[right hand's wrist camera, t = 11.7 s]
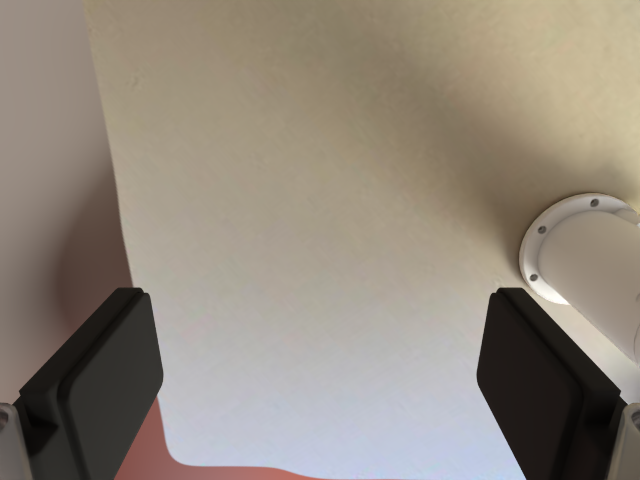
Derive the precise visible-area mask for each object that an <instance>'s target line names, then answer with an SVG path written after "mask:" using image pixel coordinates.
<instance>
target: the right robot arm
mask: <svg viewBox="0 0 640 480" xmlns="http://www.w3.org/2000/svg"><path fill="white" fill-rule="evenodd" d="M519 265H520V271H521V273H522V276H523V278H524V280H525V281H526V283H527V284H528V286H529V287H530V288H531V289H532V290H533V291H534V292H535V293H536V294H538V295H539V296H541V297H542V298H544V299H546V300H549V301H551V302H554V303H559V304H570V305H571V306H572V307H574V308H575V309H576V310H577V311H578V312H579V313H580V314H581V315H582V316H583V317H585V318H586V319H587V320H588V321H589V322H590V323H591V324H592V325H593V326H594V327H595V328H597V329H598V330H599V331H600V332H601V333H602V334H603V335H604V336H605V337H606V338H608V339H609V340H610V341H611V342H612V343H613V344H614V345H615V346H616V347H617V348H618V349H620V350H621V351H622V352H623V353H624V354H625V355H626V356H627V357H628V358H629V359H631V360H632V361H633V362H634V363H635V364H636V365H637V366H638V367H639V368H640V215H638V214H637V212H636V211H635V210H634V209H633V208H632V207H631V206H630V205H628V204H627V203H625V202H623V201H622V200H620V199H617V198H615V197H612V196H609V195H605V194H600V193H586V194H580V195H575V196H572V197H569V198H566V199H563V200H561V201H559V202H558V203H556V204H554V205H552V206H551V207H549V208H548V209H547V210H545V211H544V212H543V213H542V214H541V215H540V216H539V217H538V218H537V219H536V220H535V221H534V222H533V223H532V225H531V226H530V228H529V229H528V230H527V232H526V234H525V236H524V238H523V241H522V244H521V248H520V251H519ZM162 382H163V368H162V362H161V356H160V350H159V345H158V339H157V333H156V328H155V322H154V316H153V310H152V305H151V299H150V295H149V294H148V293H144V292H143V290H142V289H141V288H117V289H116V290H115V291H114V292H113V293H112V294H111V295H110V296H109V297H108V298H107V299H106V300H105V301H104V302H103V303H102V305H101V306H100V307H99V308H98V309H97V310H96V311H95V312H94V313H93V314H92V315H91V316H90V317H89V318H88V319H87V320H86V321H85V322H84V323H83V324H82V325H81V327H80V328H79V329H78V330H77V331H76V332H75V333H74V334H73V335H72V336H71V337H70V338H69V339H68V340H67V341H66V342H65V343H64V344H63V345H62V346H61V347H60V348H59V350H58V351H57V352H56V353H55V354H54V355H53V356H52V357H51V358H50V359H49V360H48V361H47V362H46V363H45V364H44V365H43V366H42V367H41V368H40V369H39V370H38V371H37V373H36V374H35V375H34V376H33V377H32V378H31V379H30V380H29V381H28V382H27V383H26V384H25V385H24V386H23V387H22V388H21V389H20V390H19V393H20V395H21V396H20V397H19V398H18V399H17V400H16V401H15V402H14V403H13V404H12V405H10V404H8V403H0V480H114V478H115V476H116V474H117V472H118V470H119V468H120V466H121V464H122V462H123V460H124V458H125V456H126V454H127V452H128V450H129V448H130V447H131V445H132V443H133V441H134V439H135V437H136V435H137V433H138V431H139V429H140V427H141V425H142V423H143V421H144V419H145V417H146V415H147V413H148V411H149V409H150V407H151V405H152V403H153V402H154V399H155V398H156V396H157V394H158V392H159V390H160V388H161V386H162ZM477 382H478V386H479V388H480V390H481V392H482V394H483V396H484V398H485V400H486V402H487V403H488V405H489V407H490V409H491V411H492V413H493V415H494V417H495V419H496V421H497V423H498V425H499V427H500V429H501V431H502V433H503V435H504V437H505V439H506V441H507V443H508V445H509V447H510V448H511V450H512V452H513V454H514V456H515V458H516V460H517V462H518V464H519V466H520V468H521V470H522V472H523V474H524V476H525V478H526V480H640V403H632V404H630V405H628V404H627V403H626V402H625V401H624V400H623V399H622V398H621V397H620V393H621V390H620V389H619V388H618V387H617V386H616V385H615V384H614V383H613V382H612V381H611V380H610V379H609V378H608V377H607V376H606V375H605V374H604V373H603V371H602V370H601V369H600V368H599V367H598V366H597V365H596V364H595V363H594V362H593V361H592V360H591V359H590V358H589V357H588V356H587V355H586V354H585V353H584V352H583V351H582V350H581V348H580V347H579V346H578V345H577V344H576V343H575V342H574V341H573V340H572V339H571V338H570V337H569V336H568V335H567V334H566V333H565V332H564V331H563V330H562V329H561V328H560V327H559V325H558V324H557V323H556V322H555V321H554V320H553V319H552V318H551V317H550V316H549V315H548V314H547V313H546V312H545V311H544V310H543V309H542V308H541V307H540V306H539V305H538V303H537V302H536V301H535V300H534V299H533V298H532V297H531V296H530V295H529V294H528V293H527V292H526V291H525V290H524V289H523V288H499V289H498V290H497V292H496V293H492V294H491V295H490V299H489V305H488V310H487V316H486V322H485V328H484V333H483V339H482V345H481V350H480V356H479V362H478V368H477Z"/></svg>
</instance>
